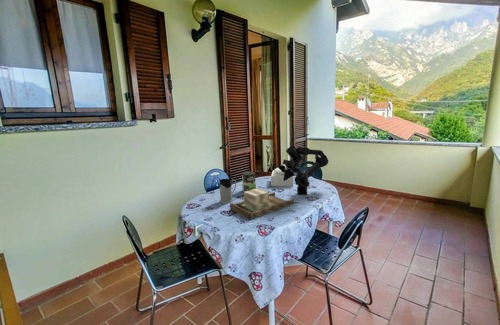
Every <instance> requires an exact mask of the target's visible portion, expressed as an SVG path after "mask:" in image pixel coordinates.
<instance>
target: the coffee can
mask: <svg viewBox="0 0 500 325" xmlns="http://www.w3.org/2000/svg"><path fill="white" fill-rule="evenodd" d="M241 175H242V176H241V178H242V192H243V193H244V192H245V191H249V190H253V189H256V188H257V186H256V185H257V184H256V172H255V171H244V172H241Z"/></svg>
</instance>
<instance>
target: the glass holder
mask: <svg viewBox="0 0 500 325" xmlns="http://www.w3.org/2000/svg"><path fill="white" fill-rule="evenodd" d="M233 182H234V183H235V184H234V189H233V190H232V185H233ZM236 186H237V180H236V179H232V180H231V178H221V179H219V192H220V195H219V196H220V197H219V198H220V200H219V201H220V202H219V203H221V204H231V203H233V193H234V192H235V190H236Z"/></svg>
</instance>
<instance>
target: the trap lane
mask: <svg viewBox="0 0 500 325" xmlns="http://www.w3.org/2000/svg"><path fill="white" fill-rule="evenodd" d="M294 204H295V199H294V198H291V199H288V200H286V199H282V198H280V197H277V196H276V192H269V206H267V207H264V208H261V209H258V210H253V209H251V208H249V207H247V206H245V204H244V200H243V201H239V202H237V203H233V202H231V203H229V207H230V208H229V209H230V211H232V212H234V213H236V214H237V215H240V216H242V217H244V218H245V219H247V220H249V221H250V220H252V219H255V218H258V217H261V216H264V215H268V214H270V213H272V212H276V211H278V210H280V209H283V208H287V207H290V206H292V205H294Z"/></svg>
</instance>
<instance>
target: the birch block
mask: <svg viewBox="0 0 500 325" xmlns="http://www.w3.org/2000/svg"><path fill="white" fill-rule="evenodd" d="M269 193H270V192H269V191H267V190H264V189H261V188H258V187H256V189H253V190H249V191H245V192H243V201H244V204H245V206H247V207H249V208H251V209H253V210H258V209H261V208H264V207H267V206H269Z"/></svg>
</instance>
